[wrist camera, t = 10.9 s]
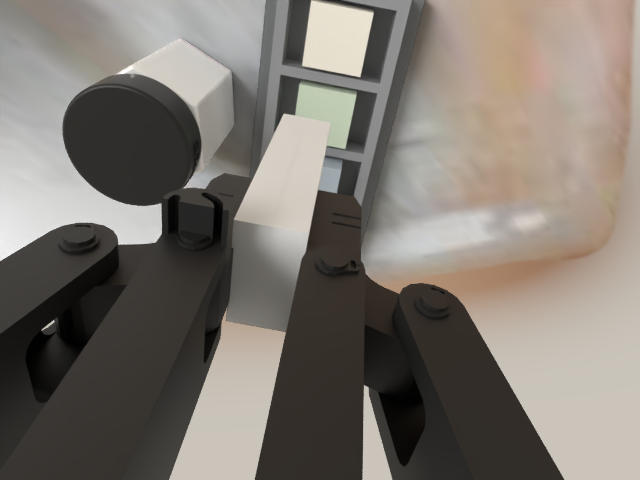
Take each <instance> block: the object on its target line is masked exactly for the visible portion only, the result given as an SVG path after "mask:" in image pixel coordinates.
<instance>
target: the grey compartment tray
mask: <svg viewBox="0 0 640 480" xmlns="http://www.w3.org/2000/svg"><path fill="white" fill-rule="evenodd" d="M330 1H335V2H340V3H345V4H350V5H355V6H360V7H366V8H371V9H373V10H374V14H373V19H372V24H371V28H370V33H369V38H368V43H367V47H366V52H365V57H364V62H363V67H362V71H361V76H360V77H357V76H352V75H346V74H341V73H336V72H331V71H326V70H321V69H316V68H310V67H305V66H302V63H303V55H304V48H305V41H306V34H307V27H308V20H309V13H310V6H311V0H266V6H265V16H264V27H263V38H262V49H261V59H260V70H259V81H258V92H257V103H256V113H255V124H254V135H253V146H252V156H251V167H250V178H251V179H253V178H254V176H255V174H256V171H257V169H258V167H259V165H260V163H261V161H262V159H263V157H264V154H265V152H266V150H267V148H268V146H269V144H270V142H271V140H272V138H273V135H274V133H275V131H276V129H277V127H278V125H279V123H280V121H281V118H282V116H283V114H289V115H294V116H295V112H296V105H297V98H298V91H299V84H300V82H301V80H302V79H305V80H311V81H316V82H321V83H326V84H331V85H336V86H341V87H347V88H352V89H357V95H356V100H355V105H354V110H353V115H352V119H351V124H350V129H349V134H348V139H347V143H346V148H345V149H343V148H337V147H332V146H327V147H326V152H325V156H326V157H331V158H336V159H342V160H343V161H342V170H341V175H340V179H339V184H338V189H337V193H338V194H343V195H348V196H354V197H355V198H356V200H357V201H358V203H359V204H360V205H361V207H362V219H361V220H362V223H361V245H362V241H363V237H364V233H365V229H366V226H367V222H368V218H369V214H370V210H371V206H372V202H373V199H374V195H375V191H376V187H377V183H378V179H379V175H380V172H381V168H382V164H383V160H384V156H385V152H386V149H387V145H388V141H389V137H390V133H391V129H392V125H393V122H394V118H395V114H396V110H397V106H398V102H399V98H400V95H401V91H402V87H403V83H404V79H405V75H406V72H407V68H408V64H409V60H410V56H411V52H412V48H413V45H414V41H415V37H416V33H417V29H418V25H419V21H420V18H421V14H422V10H423V6H424V2H425V0H330Z"/></svg>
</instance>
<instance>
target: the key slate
mask: <svg viewBox="0 0 640 480" xmlns="http://www.w3.org/2000/svg"><path fill="white" fill-rule="evenodd" d="M342 161H343V160H342V159H336V158H331V157H326V156H325V158H324V163H323V169H322V174H321V179H320V185H319V190H322V191H327V192H333V193H337V189H338V184H339V179H340V175H341V170H342Z"/></svg>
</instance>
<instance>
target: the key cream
mask: <svg viewBox="0 0 640 480" xmlns="http://www.w3.org/2000/svg"><path fill="white" fill-rule="evenodd" d="M373 14H374V10H373V9H371V8H366V7H360V6H355V5H350V4H345V3H340V2H335V1H330V0H311V6H310V13H309V20H308V27H307V34H306V41H305V48H304V55H303V63H302V66H305V67H310V68H316V69H321V70H326V71H331V72H336V73H341V74H346V75H352V76H357V77H360V76H361V71H362V67H363V62H364V57H365V52H366V47H367V43H368V38H369V33H370V28H371V24H372V19H373Z"/></svg>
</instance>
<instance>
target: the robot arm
mask: <svg viewBox="0 0 640 480" xmlns="http://www.w3.org/2000/svg"><path fill="white" fill-rule="evenodd" d="M330 125H331V123H330V122H325V121H320V120H315V119H310V118H304V117H299V116H294V115H289V114H283V116H282V118H281V121H280V123H279V125H278V127H277V129H276V131H275V133H274V135H273V138H272V140H271V142H270V144H269V146H268V148H267V150H266V152H265V154H264V157H263V159H262V161H261V163H260V165H259V167H258V169H257V171H256V174H255V176H254V178H253V179H251V178H246V177H241V176H235V175H230V174H225V173H224V174H222V175H220V176H218V177H217V178H215V179H213V180H211V181H210V183H209V185H208V186H207V188H206V189H199V188H185V189H178V190H175V191H172V192H169V193H167V194H166V195H165V196H164V197H162V198H161V201H162V235H161V236H160V238H159V239H158V241H157V242H156V243H151V244H137V245H118V238H117V236H116V234H115V233H114V231H113V230H111V229H109V228H107V227H105V226H103V225H98V224H94V223H75V224H70V225H65V226H61V227H59V228H57V229H54V230H52V231H50V232H48V233H47V234H45V235H43V236H42V237H40V238H38V239H37V240H35V241H33V242H32V243H30V244H28V245H27V246H25V247H23V248H22V249H20V250H18V251H17V252H15V253H13V254H12V255H10V256H8V257H7V258H5V259H3V260H2V261H0V480H169V478H170V475H171V473H172V470H173V467H174V464H175V461H176V459H177V456H178V453H179V451H180V448H181V445H182V442H183V440H184V437H185V434H186V431H187V429H188V425H189V423H190V420H191V417H192V415H193V412H194V409H195V406H196V404H197V401H198V398H199V395H200V393H201V390H202V387H203V384H204V382H205V379H206V376H207V373H208V371H209V368H210V365H211V362H212V360H213V357H214V354H215V351H216V348H217V346H218V343H219V340H220V336H221V323H222V322H221V321H222V319H223V316H224V313H225V311H226V308H227V315H226V321H229V322H234V323H240V324H245V325H251V326H257V327H261V328H267V329H272V330H278V331H283V332H286V335H285V340H284V344H283V349H282V354H281V358H280V363H279V368H278V373H277V377H276V382H275V387H274V391H273V396H272V401H271V406H270V410H269V415H268V420H267V425H266V430H265V434H264V439H263V443H262V449H261V453H260V458H259V462H258V467H257V472H256V477H255V480H362V468H363V466H362V464H363V396H364V385H365V386H368V387H369V396H370V400H371V403H372V407H373V411H374V414H375V418H376V421H377V425H378V428H379V432H380V436H381V439H382V443H383V446H384V450H385V454H386V457H387V461H388V464H389V468H390V472H391V475H392V479H393V480H564V478H563V477H562V475H561V473H560V471H559V470H558V468H557V466H556V465H555V463H554V461H553V459H552V458H551V456H550V454H549V453H548V451H547V449H546V447H545V446H544V444H543V442H542V440H541V439H540V437H539V435H538V433H537V432H536V430H535V428H534V426H533V425H532V423H531V421H530V419H529V418H528V416H527V414H526V413H525V411H524V409H523V407H522V406H521V404H520V402H519V400H518V399H517V397H516V395H515V394H514V392H513V390H512V388H511V387H510V385H509V383H508V381H507V380H506V378H505V376H504V374H503V373H502V371H501V370H500V368H499V366H498V364H497V362H496V361H495V359H494V357H493V355H492V354H491V352H490V350H489V348H488V347H487V345H486V343H485V342H484V340H483V338H482V336H481V335H480V333H479V332H478V330H477V328H476V326H475V324H474V322H473V321H472V319H471V318H470V316H469V314H468V312H467V310H466V309H465V307H464V305H463V304H462V303H461V302H460V301H459V299H458V298H457V297H455V296H454V295H453V294H451V293H450V292H448V291H447V290H445V289H442V288H440V287H437V286H435V285H429V284H424V283H419V284H410V285H408V286H407V287H405V288H403V289H402V291H401V293H400V294H398V293H396V292H393V291H391V290H389V289H386V288H384V287H382V286H380V285H378V284H377V283H375V282H374V281H373V280H371V279H370V278H369V277H368V276H367V275H366V274H365V268H364V265H363V263H362V262H361V223H362V220H361V219H362V207H361V205H360V204H359V203H358V201H357V200H356V198H355V197H354V196H348V195H343V194H338V193H333V192H327V191H322V190H319V185H320V179H321V174H322V169H323V163H324V158H325V152H326V147H327V142H328V136H329V131H330ZM53 320H54V321H55V322H54V323H53V324H52V325H51V326H49V327H48V328H46V329H44V330H42V329H43V328H44V327H45V326H46V325H48V324H49V323H50V322H52V321H53ZM41 330H42V331H41Z"/></svg>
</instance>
